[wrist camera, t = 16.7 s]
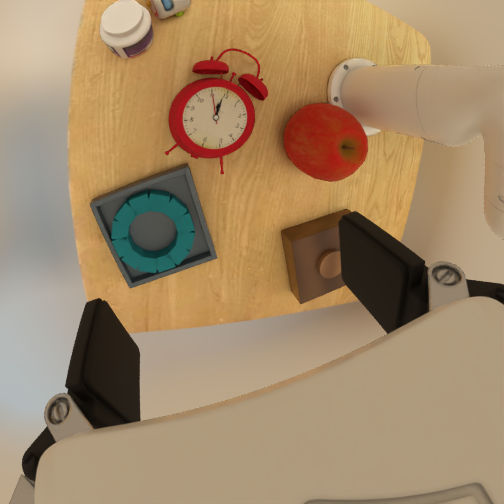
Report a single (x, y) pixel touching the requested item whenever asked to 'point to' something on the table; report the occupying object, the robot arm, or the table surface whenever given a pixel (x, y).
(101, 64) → the table surface
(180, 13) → the roller toy
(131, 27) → the pill bottle
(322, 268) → the platform
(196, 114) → the alarm clock
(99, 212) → the tray
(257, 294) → the table surface
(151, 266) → the ring
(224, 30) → the table surface
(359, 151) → the apple
